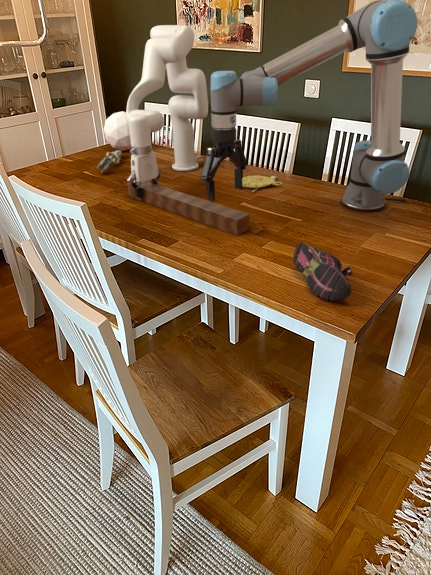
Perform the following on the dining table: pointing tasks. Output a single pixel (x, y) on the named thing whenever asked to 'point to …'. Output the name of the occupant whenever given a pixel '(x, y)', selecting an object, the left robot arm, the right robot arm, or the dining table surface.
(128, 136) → the sphere
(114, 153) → the figurine
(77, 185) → the dining table surface
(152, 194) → the beam
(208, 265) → the dining table surface
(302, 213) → the dining table surface
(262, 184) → the decorative object
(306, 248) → the athletic shoe
